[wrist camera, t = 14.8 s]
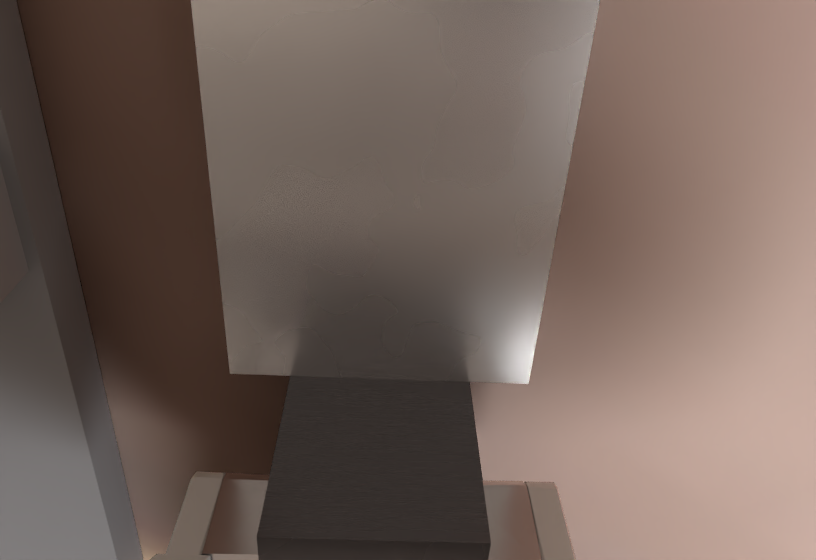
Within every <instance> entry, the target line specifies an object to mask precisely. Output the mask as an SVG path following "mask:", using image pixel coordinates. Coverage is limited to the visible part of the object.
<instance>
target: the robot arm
mask: <svg viewBox="0 0 816 560" xmlns="http://www.w3.org/2000/svg"><path fill="white" fill-rule="evenodd" d="M268 480H269V475H266V474H248V473H230V472H226V473H223V472H203V471H196V472H195V474H194V475H193V477H192V478H191V480H190V483H189V486H188V489H187V492H186V495H185V498H184V501H183V504H182V507H181V510H180V513H179V516H178V519H177V521H176V524H175V527H174V530H173V533H172V536H171V539H170V542H169V545H168V548H167V551H166V554H156V555H155V556H154V557H152V558H151V559H150V560H259V558H258V547H257V533H258V528H259V523H260V519H261V514H262V509H263V504H264V499H265V495H266V490H267V485H268ZM483 487H484V494H485V502H486V509H487V516H488V524H489V531H490V539H491V547H490V552H489V558H488V560H576V558H575V554H574V550H573V547H572V543H571V539H570V535H569V531H568V527H567V523H566V519H565V515H564V512H563V508H562V504H561V500H560V496H559V492H558V488H557V486H556V485H555V484H554V482H523V481H483Z"/></svg>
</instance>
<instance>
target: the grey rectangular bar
mask: <svg viewBox="0 0 816 560" xmlns="http://www.w3.org/2000/svg"><path fill="white" fill-rule="evenodd" d="M599 4H600V0H191V8H192V17H193V27H194V36H195V46H196V56H197V65H198V75H199V84H200V94H201V103H202V113H203V122H204V132H205V141H206V151H207V161H208V170H209V180H210V189H211V199H212V208H213V218H214V227H215V237H216V246H217V256H218V265H219V275H220V285H221V294H222V304H223V313H224V323H225V332H226V342H227V351H228V361H229V370H230V374H254V375H283V376H290V380H289V385H288V389H287V394H286V399H285V404H284V408H283V413H282V418H281V423H280V428H279V432H278V437H277V442H276V447H275V452H274V456H273V461H272V466H271V471H270V475H269V480H268V485H267V490H266V495H265V499H264V504H263V509H262V514H261V519H260V523H259V528H258V533H257V547H258V558H259V560H488V558H489V552H490V547H491V539H490V531H489V524H488V516H487V509H486V502H485V494H484V487H483V479H482V472H481V464H480V457H479V449H478V442H477V434H476V427H475V419H474V412H473V405H472V397H471V390H470V382H488V383H517V384H528V383H529V378H530V373H531V367H532V362H533V357H534V351H535V346H536V341H537V335H538V330H539V325H540V319H541V314H542V309H543V303H544V298H545V293H546V287H547V282H548V276H549V271H550V266H551V260H552V255H553V250H554V244H555V239H556V234H557V228H558V223H559V218H560V212H561V207H562V202H563V196H564V191H565V186H566V180H567V175H568V170H569V164H570V159H571V154H572V148H573V143H574V137H575V132H576V127H577V121H578V116H579V111H580V105H581V100H582V95H583V89H584V84H585V79H586V73H587V68H588V63H589V57H590V52H591V47H592V41H593V36H594V31H595V25H596V20H597V14H598V9H599Z"/></svg>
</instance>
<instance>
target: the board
mask: <svg viewBox="0 0 816 560" xmlns="http://www.w3.org/2000/svg"><path fill="white" fill-rule="evenodd" d="M0 560H143V556H142V551H141V547H140V543H139V538H138V534H137V529H136V525H135V521H134V516H133V512H132V507H131V503H130V499H129V494H128V490H127V485H126V481H125V477H124V472H123V468H122V463H121V459H120V455H119V450H118V446H117V441H116V437H115V433H114V428H113V424H112V419H111V415H110V411H109V406H108V402H107V397H106V393H105V389H104V384H103V380H102V375H101V371H100V367H99V362H98V358H97V353H96V349H95V345H94V340H93V336H92V332H91V327H90V323H89V318H88V314H87V310H86V305H85V301H84V296H83V292H82V288H81V283H80V279H79V274H78V270H77V266H76V261H75V257H74V252H73V248H72V244H71V239H70V235H69V230H68V226H67V222H66V217H65V213H64V208H63V204H62V200H61V195H60V191H59V186H58V182H57V178H56V173H55V169H54V164H53V160H52V156H51V151H50V147H49V142H48V138H47V134H46V129H45V125H44V120H43V116H42V112H41V107H40V103H39V98H38V94H37V90H36V85H35V81H34V76H33V72H32V68H31V63H30V59H29V54H28V50H27V46H26V41H25V37H24V32H23V28H22V24H21V19H20V15H19V10H18V6H17V2H16V0H0Z"/></svg>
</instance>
